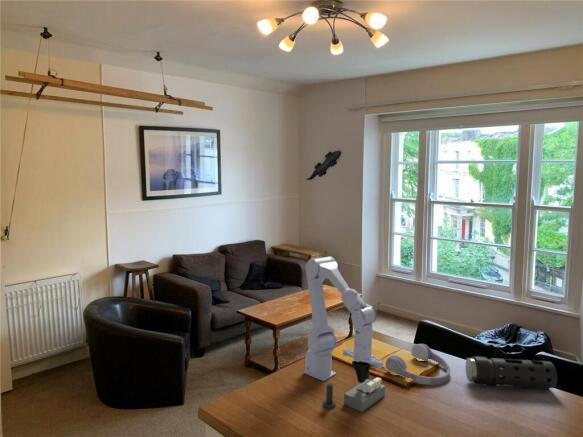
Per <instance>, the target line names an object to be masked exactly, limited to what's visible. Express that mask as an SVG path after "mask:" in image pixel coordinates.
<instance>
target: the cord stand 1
mask: <svg viewBox="0 0 583 437" xmlns="http://www.w3.org/2000/svg"><path fill="white" fill-rule="evenodd" d="M333 391H334V385H333V383H327V384H326V395H325V396H326V399H325V400H324V401H322V406H323V408H325V409H326V410H327V409H328V410H329V409H330V410H331V409H334V408H336V402H335V401H334V400H333V399H334V398H333V396H334V394H333V393H334V392H333Z"/></svg>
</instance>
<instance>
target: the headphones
mask: <svg viewBox="0 0 583 437" xmlns="http://www.w3.org/2000/svg"><path fill="white" fill-rule="evenodd" d="M411 355H412V357H413V356H414V357H416V358H419V359H422V360H424V361H425V362H427V361H428V359H429V360H432V361H434V362H435V361H436V362H435V363H437V362H438V363H439V364H438V363H437V364H438V365H440V366H441V367H442V368H443V369H444V371H445V374H444V375H441V376H436V377H434V376H430V377H429V376H423V375H419V374H415V373H413V372H410V371H408V370H407V363H406V361H405V359H403V357H401V356H399V355H397V354H391V355H389V357H388V358H387V359H386V362H385V369H386V370H387V369H388V370H389V371H392V372H395V373H397V374H399V375H402V376H404V377H407V378H411V379H413V380H414V381H413V382H415V383H416V384H421V385H427V386H429V385H430V386H434V385H441V384H444V383H446V382H447V381H448V380H450V379H449V378H450V374H451V366H450V365H449V363H448V362H447V361H446V360H445V359H444V358H443V357H442V356H440V355H439V354H437V353H435V352H433V351H432V350H431V347H429V346H428V345H427V344H425V343H417V344H415V345H413V346H412V347H411ZM414 357H413V358H414ZM426 360H427V361H426ZM402 376H401V377H402ZM404 377H403V378H404Z"/></svg>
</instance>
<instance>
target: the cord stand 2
mask: <svg viewBox="0 0 583 437" xmlns="http://www.w3.org/2000/svg"><path fill="white" fill-rule="evenodd" d="M366 379H369V380H372V381H373V379H372V378H371V377H370V369H369V370H368V372H367V375H366V378H365V380H366Z"/></svg>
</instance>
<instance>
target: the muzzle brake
mask: <svg viewBox="0 0 583 437" xmlns="http://www.w3.org/2000/svg"><path fill="white" fill-rule="evenodd" d="M546 370H547V371H546ZM465 375H466V379H467V381H468V382H469V383H473V384H474V385H481V386H482V385H483V386H485V387H494V388H496V387H497V386H509V387H511V386H512V387H513V388H521V389H533V390H546V391H547V390H548V391H549V390H550V389H554V388H555V387H557V383H558V373H557V370H556V367H555V365H554V363H553V362H552V361H549V360H548V361H547V360H533V359H532V360H530V359H529V360H528V359H516V358H514V359H513V358H501V357H500V358H498V357H495V358H494V357H490V358H487V357H486V356H479V355H477V356H476V355H475V356H472V357H467V358H466V359H465Z"/></svg>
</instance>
